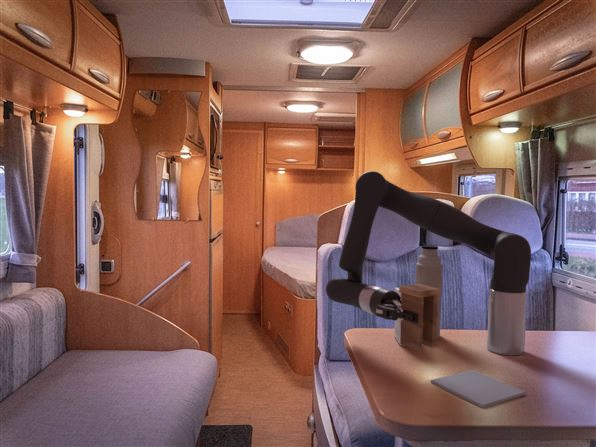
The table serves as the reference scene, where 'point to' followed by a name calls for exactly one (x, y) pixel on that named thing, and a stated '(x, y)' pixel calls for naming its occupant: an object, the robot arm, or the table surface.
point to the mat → (478, 388)
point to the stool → (419, 316)
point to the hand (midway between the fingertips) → (426, 316)
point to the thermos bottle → (431, 275)
